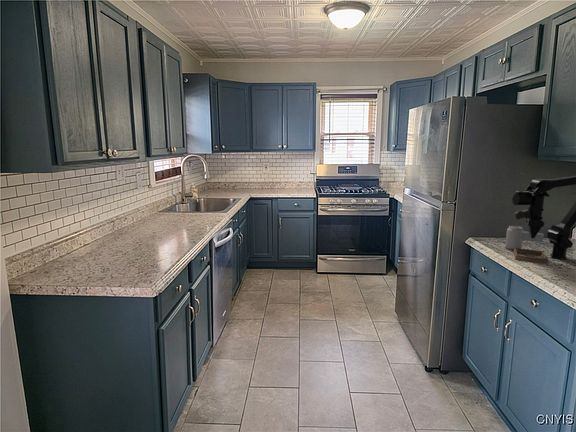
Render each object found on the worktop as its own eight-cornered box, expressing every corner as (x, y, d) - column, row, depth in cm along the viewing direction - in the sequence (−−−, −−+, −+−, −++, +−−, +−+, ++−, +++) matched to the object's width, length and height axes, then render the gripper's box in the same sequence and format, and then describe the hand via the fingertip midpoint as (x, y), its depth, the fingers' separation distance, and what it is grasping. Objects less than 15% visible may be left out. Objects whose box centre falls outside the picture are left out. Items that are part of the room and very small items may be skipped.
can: (524, 250, 193) (527, 228, 191) (510, 250, 193) (513, 228, 191) (515, 246, 201) (518, 225, 198) (501, 246, 201) (504, 225, 198)
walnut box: (513, 251, 192) (514, 247, 191) (542, 255, 186) (543, 251, 185) (515, 259, 179) (515, 255, 179) (546, 263, 173) (547, 259, 173)
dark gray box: (521, 237, 185) (521, 230, 184) (542, 240, 180) (543, 233, 180) (520, 239, 181) (521, 232, 180) (542, 242, 176) (543, 235, 176)
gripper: (515, 201, 189) (511, 231, 192) (518, 207, 173) (513, 239, 176) (541, 203, 184) (537, 233, 187) (546, 209, 168) (541, 242, 171)
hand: (531, 236), depth 180 cm, fingers closed on dark gray box, 5 cm apart
